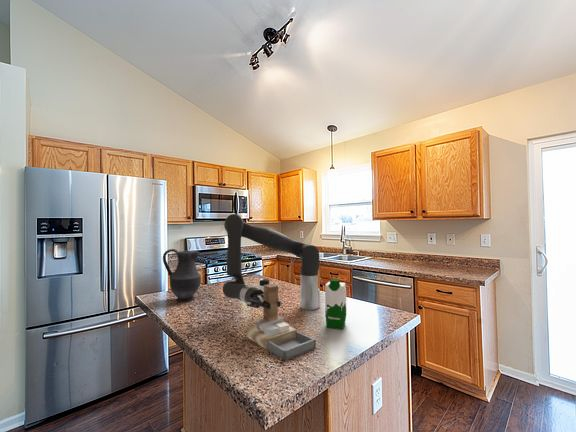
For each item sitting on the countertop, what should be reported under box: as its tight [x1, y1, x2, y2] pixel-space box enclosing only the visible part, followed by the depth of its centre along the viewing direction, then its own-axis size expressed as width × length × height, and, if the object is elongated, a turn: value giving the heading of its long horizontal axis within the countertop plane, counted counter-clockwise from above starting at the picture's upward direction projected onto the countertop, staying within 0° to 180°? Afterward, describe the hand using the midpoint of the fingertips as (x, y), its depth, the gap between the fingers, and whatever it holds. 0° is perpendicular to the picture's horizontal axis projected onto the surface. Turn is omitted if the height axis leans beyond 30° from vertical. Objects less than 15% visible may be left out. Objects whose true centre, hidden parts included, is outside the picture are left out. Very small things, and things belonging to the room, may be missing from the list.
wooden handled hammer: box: [256, 283, 285, 332], centre depth 105 cm, size 4×10×16 cm, turn 128°
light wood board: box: [246, 324, 298, 350], centre depth 104 cm, size 14×14×4 cm
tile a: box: [275, 321, 291, 333], centre depth 103 cm, size 4×4×2 cm
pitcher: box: [162, 248, 202, 303], centre depth 157 cm, size 17×21×30 cm
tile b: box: [264, 325, 279, 336], centre depth 100 cm, size 4×4×2 cm
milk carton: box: [324, 278, 347, 330], centre depth 117 cm, size 9×9×20 cm
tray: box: [266, 330, 317, 362], centre depth 94 cm, size 10×14×3 cm
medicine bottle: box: [257, 278, 270, 292], centre depth 157 cm, size 7×7×12 cm
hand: (274, 305), depth 102 cm, fingers closed on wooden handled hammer, 4 cm apart
